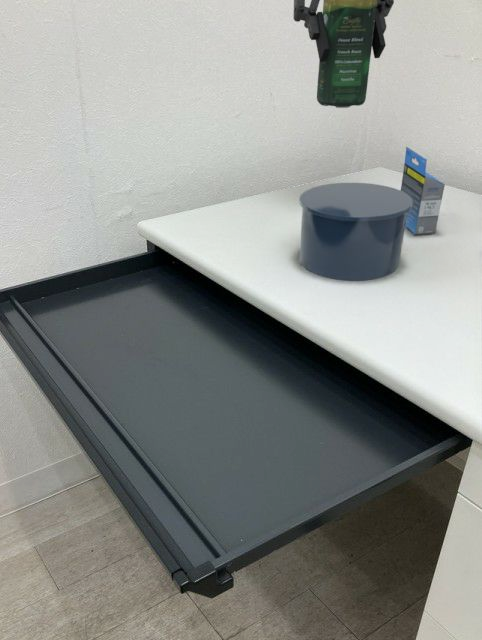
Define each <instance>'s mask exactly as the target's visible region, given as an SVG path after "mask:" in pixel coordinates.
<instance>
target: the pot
mask: <svg viewBox="0 0 482 640" xmlns="http://www.w3.org/2000/svg"><path fill="white" fill-rule="evenodd" d="M298 201H299V205H300V207H301V208H302V209H301V223H300V224H301V225H300V240H299V241H300V243H299V259H298V260H299V263H300V264H301V266H302V267H303V268H304V269H305V270H307V272H308V271H309V273H312V274H314V275H317V276H320V277H323V278H327V279H331V280H336V281H337V280H338V281H345V282H346V281H348V282H361V281H362V282H363V281H373V280H378V279H383V278H385V277H387V276H389V275H391V274H394V273H395V272H396V271H397V270H398V269H399V266H400V262H401V261H400V260H401V255H402V250H403V242H404V237H405V231H406V226H405V224H406V218H407V212H408V211H409V210H410V209H411V208H412V203H413V201H412V198H411V197H410V196H409V195H408V194H406V193H405V192H403V191H401V189H398V188H395V187H392V186H387V185H382V184H375V183H365V182H335V183H327V184H322V185H317V186H314V187H311V188H308V189H306V190H305V191H303V192H301V194H300V196H299V200H298Z"/></svg>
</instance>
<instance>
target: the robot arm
mask: <svg viewBox="0 0 482 640" xmlns="http://www.w3.org/2000/svg"><path fill="white" fill-rule="evenodd" d="M320 1H321V0H311V1H310V4H309V7H308V6H306V0H293V20H294V22H297V23H299V22H301V21H303V22H304V23H303V26H304V28H305V29H307V32H308V36H309V39H310V40H311V41H315V43H316V49H317V54H318V60H320V62H325V59H326V56H327V54H328V51H329V44H328V39H327V34H326V28H325V23H324V18H323V11H318V8H319V5H320ZM394 3H395V0H377V4H376V14H375V23H374V32H373V41H372V52H373V57H374V59H380V57H381V55H382V54H383V52H384V50H385V47H386V46H387V45H386V40H385V36H384V34H385V32H386V30H387V22H386V17H388V16H389V15H390V12H391V10H392V8H393V5H394Z"/></svg>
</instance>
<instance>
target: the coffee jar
mask: <svg viewBox="0 0 482 640" xmlns="http://www.w3.org/2000/svg"><path fill="white" fill-rule="evenodd" d="M376 4H377V0H323V3H322V13H323V18H324V23H325V28H326V34H327V39H328V44H329V51H328V54H327V56H326V59H325V62H320V60H319V59H318V60H319V63H318V74H317V75H318V76H317V86H316V100H317V102H318V104H319V105H320V106H323V107H335V108H337V109H346V108H347V109H348V108H351V107H352V106H353V107H354V106H357V107H358V106H362V105H364V104H365V102H366V98H367V93H368V92H367V91H368V84H369V83H368V82H369V74H370V65H371V56H372V50H373V48H372V41H373V32H374V23H375V14H376Z"/></svg>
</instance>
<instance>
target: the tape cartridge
mask: <svg viewBox="0 0 482 640" xmlns="http://www.w3.org/2000/svg"><path fill="white" fill-rule="evenodd" d="M413 160H415V161H416V162H417V163H418V164H416V163H414V162H413ZM427 161H428V159H427V158H425V157H423V156H422V155H420V154H419V153H418V152H416V151H414V150H412V149H411V148H410V147H408V146H406V147H405V155H404V166H403V171H402V178H401V185H400V191H403V192H405V193H406V194H408V195H409V196H410V197H411V198H412V201H413V203H412V208H411V209H410V210H409V211H408V212H407V218H406V224H405V228H407V229H408V230H409V231H410V232H411V233H412V234H413V235H414V236H417V235H432V234H436V231H437V226H438V220H439V216H440V210H441V205H442V201H443V200H442V199H443V195H444V190H445V187H446V186H445V183H444V182H442V181H441V180H439V179H437V178H436V177H434V176H433V175H431V174H430V173H429V172H427Z"/></svg>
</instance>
